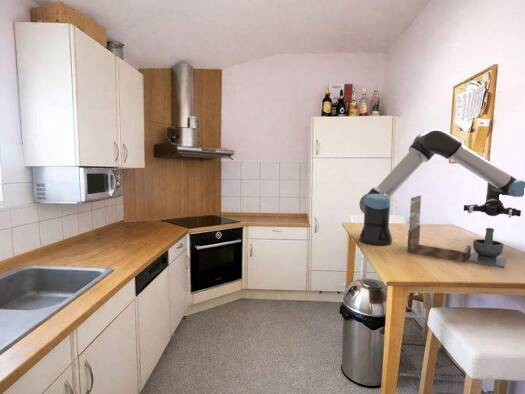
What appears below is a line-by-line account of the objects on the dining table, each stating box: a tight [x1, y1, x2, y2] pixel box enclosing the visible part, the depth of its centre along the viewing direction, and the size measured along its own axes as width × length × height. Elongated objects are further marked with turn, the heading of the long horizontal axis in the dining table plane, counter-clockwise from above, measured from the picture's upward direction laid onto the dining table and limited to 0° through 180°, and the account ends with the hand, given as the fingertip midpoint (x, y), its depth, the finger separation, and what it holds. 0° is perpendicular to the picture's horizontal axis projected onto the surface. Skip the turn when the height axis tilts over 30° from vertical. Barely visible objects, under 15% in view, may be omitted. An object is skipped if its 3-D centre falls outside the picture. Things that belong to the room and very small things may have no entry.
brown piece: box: [407, 195, 472, 263], centre depth 128 cm, size 21×15×24 cm
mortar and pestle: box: [472, 227, 504, 262], centre depth 118 cm, size 11×9×12 cm
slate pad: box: [468, 252, 506, 269], centre depth 119 cm, size 11×13×1 cm
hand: (489, 212), depth 126 cm, fingers open, 13 cm apart
